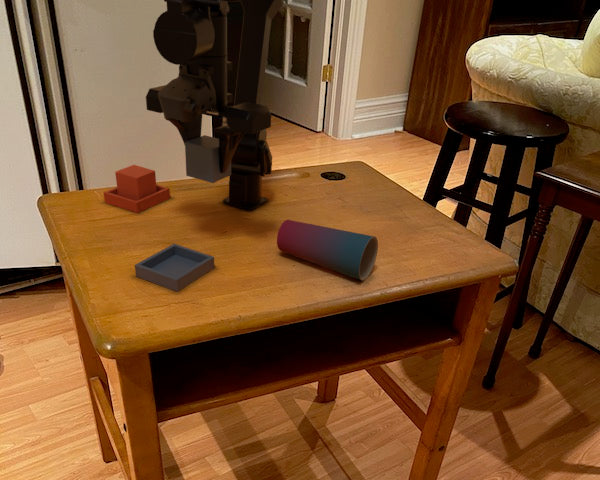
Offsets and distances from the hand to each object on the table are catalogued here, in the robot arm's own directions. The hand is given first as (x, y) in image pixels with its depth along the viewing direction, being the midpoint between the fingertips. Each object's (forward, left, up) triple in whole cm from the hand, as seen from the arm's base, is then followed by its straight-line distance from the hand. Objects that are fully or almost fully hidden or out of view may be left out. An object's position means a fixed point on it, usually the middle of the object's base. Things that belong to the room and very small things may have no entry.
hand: (208, 168), depth 91 cm
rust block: (-6, -21, -11) cm, 24 cm away
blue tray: (+12, +2, -12) cm, 17 cm away
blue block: (0, 0, -1) cm, 1 cm away
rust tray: (-6, -21, -12) cm, 24 cm away
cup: (-4, +12, -9) cm, 15 cm away
